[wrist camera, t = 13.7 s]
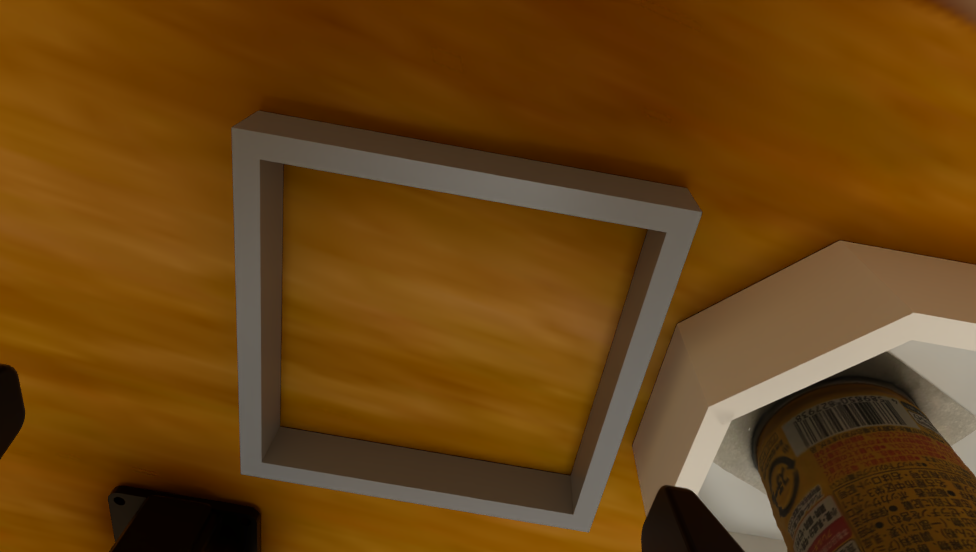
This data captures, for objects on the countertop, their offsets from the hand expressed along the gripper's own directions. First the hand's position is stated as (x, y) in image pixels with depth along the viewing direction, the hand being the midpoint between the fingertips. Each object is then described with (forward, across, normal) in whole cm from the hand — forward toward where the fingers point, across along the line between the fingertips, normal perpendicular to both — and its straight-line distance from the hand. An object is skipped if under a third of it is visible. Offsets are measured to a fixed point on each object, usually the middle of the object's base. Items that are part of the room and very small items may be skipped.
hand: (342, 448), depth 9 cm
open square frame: (+13, -1, +6) cm, 14 cm away
